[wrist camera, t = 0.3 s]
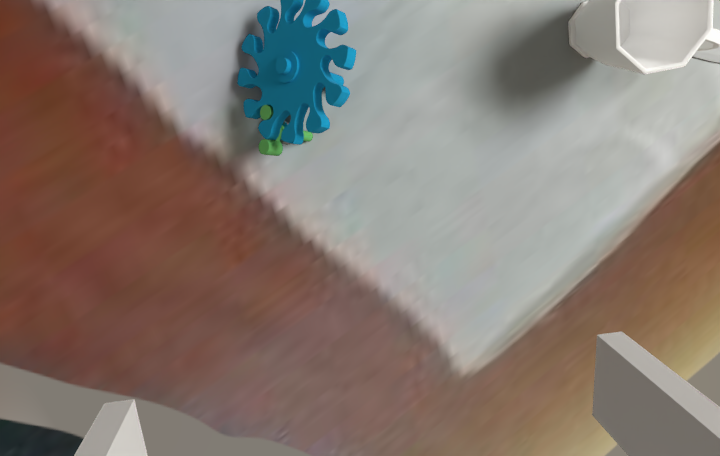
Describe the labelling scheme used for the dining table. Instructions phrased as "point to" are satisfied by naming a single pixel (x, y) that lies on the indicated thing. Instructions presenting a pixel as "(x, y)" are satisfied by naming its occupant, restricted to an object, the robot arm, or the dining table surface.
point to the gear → (294, 72)
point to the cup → (643, 32)
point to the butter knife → (709, 55)
